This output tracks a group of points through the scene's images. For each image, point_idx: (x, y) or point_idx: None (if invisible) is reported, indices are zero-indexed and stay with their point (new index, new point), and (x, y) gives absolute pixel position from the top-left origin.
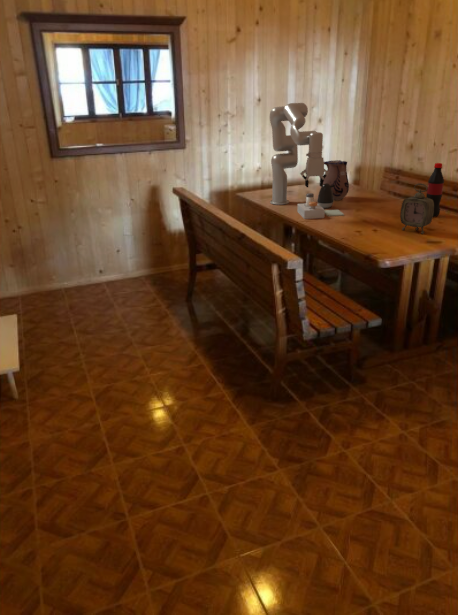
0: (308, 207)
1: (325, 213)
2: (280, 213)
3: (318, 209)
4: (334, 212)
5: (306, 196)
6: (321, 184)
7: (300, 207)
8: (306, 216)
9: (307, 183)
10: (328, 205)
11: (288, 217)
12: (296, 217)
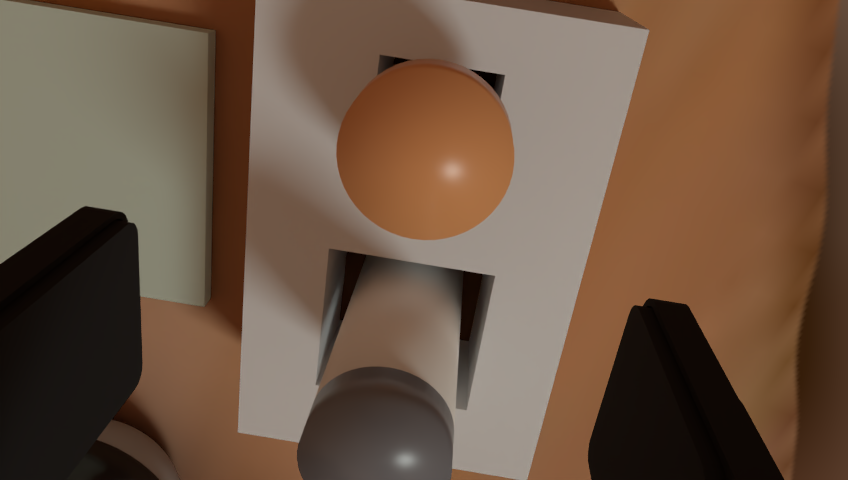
0: None
1: (208, 159)
2: (763, 413)
3: (366, 15)
4: (70, 145)
5: (453, 439)
6: (74, 242)
7: (568, 314)
8: (592, 9)
9: (725, 390)
10: None
11: (788, 189)
12: (681, 146)
